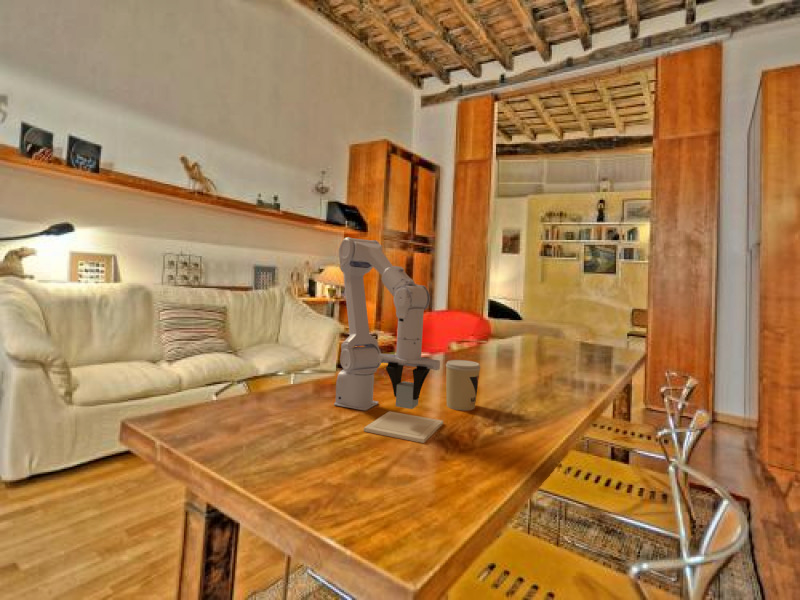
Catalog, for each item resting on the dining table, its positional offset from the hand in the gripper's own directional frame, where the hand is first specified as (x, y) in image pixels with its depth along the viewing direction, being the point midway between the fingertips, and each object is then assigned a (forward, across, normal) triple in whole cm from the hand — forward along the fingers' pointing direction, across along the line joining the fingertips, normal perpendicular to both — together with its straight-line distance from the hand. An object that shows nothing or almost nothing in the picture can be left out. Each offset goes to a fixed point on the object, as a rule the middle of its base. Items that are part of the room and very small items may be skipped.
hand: (406, 397), depth 101 cm
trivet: (+7, 0, 0) cm, 7 cm away
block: (+2, 0, +1) cm, 2 cm away
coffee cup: (+7, +7, +24) cm, 26 cm away
